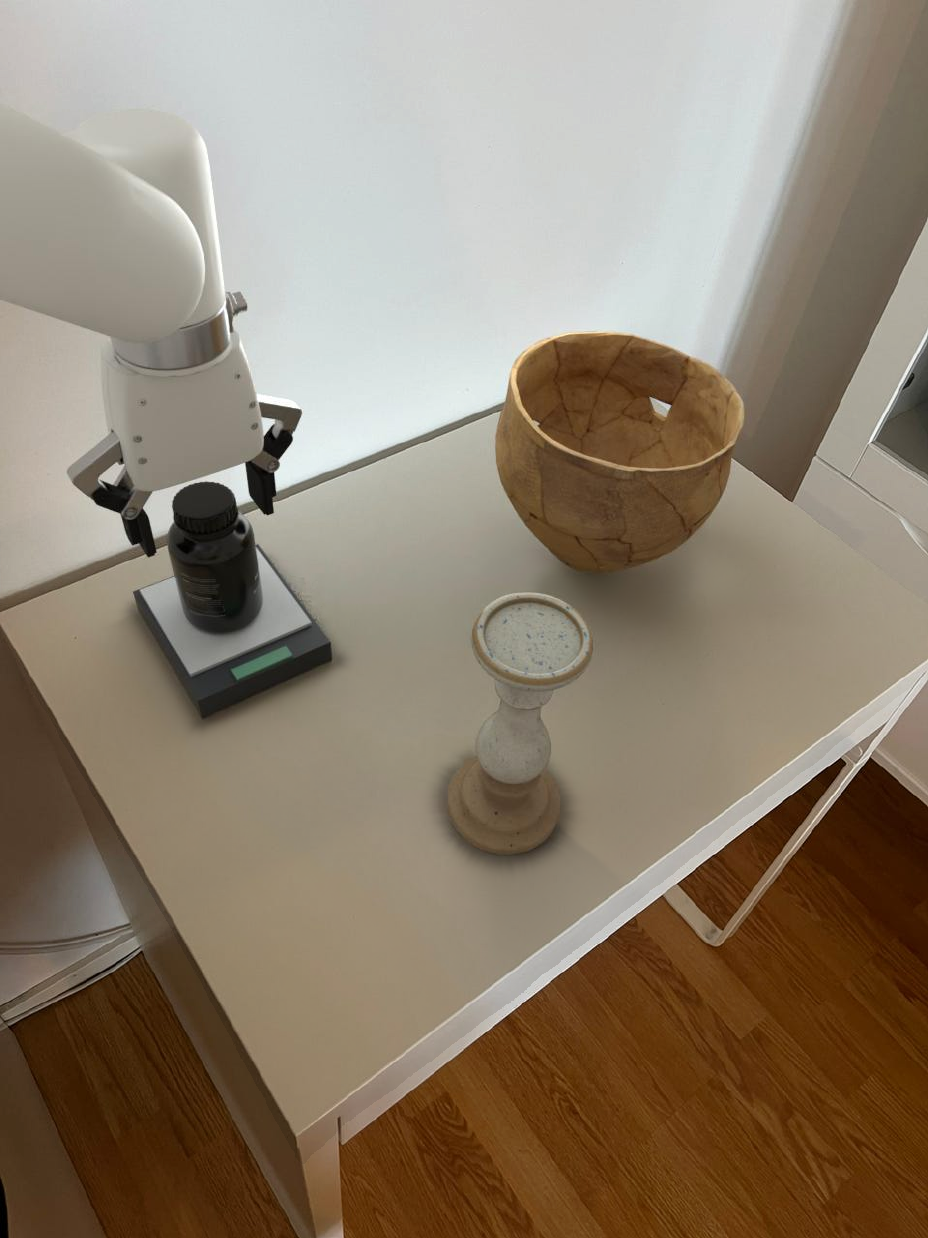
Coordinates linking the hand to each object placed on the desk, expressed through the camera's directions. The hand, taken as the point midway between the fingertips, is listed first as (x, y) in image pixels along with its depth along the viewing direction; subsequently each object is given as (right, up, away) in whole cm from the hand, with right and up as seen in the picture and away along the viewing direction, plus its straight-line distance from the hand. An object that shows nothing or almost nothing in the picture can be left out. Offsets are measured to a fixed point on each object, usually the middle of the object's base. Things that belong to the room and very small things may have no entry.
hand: (205, 524), depth 73 cm
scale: (0, -9, +9) cm, 13 cm away
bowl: (+32, -2, +18) cm, 37 cm away
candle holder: (+23, -22, 0) cm, 32 cm away
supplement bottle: (0, -6, +8) cm, 10 cm away
